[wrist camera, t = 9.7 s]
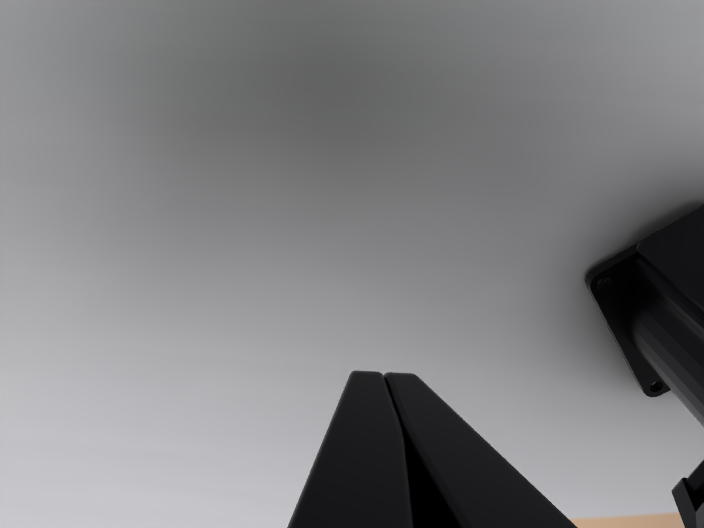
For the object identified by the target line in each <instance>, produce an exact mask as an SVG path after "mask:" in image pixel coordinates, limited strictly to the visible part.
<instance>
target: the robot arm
mask: <svg viewBox="0 0 704 528" xmlns="http://www.w3.org/2000/svg"><path fill="white" fill-rule="evenodd" d="M605 277H606V280H605V281H604V282H603V283H602V284H600V285H597V283H598V281H599V280H600V279H602V278H605ZM585 283H586V286H587V288H588V290H589V292H590V294H591V296H592V298H593V300H594V301H595V303H596V305H597V307H598V309H599V311H600V313H601V315H602V317H603V319H604V321H605V322H606V324H607V326H608V328H609V330H610V332H611V334H612V336H613V338H614V340H615V341H616V343H617V345H618V347H619V349H620V351H621V353H622V355H623V357H624V359H625V360H626V362H627V364H628V366H629V368H630V370H631V372H632V374H633V376H634V378H635V379H636V381H637V383H638V385H639V387H640V388H641V389H642V391H643V392H644V393H645V394H646V395H647V396H649V397H657V396H660V395H662V394H664V393H666V392H668V391H670V390H672V391H673V392H674V393H675V395H676V396H677V397H678V398H679V399H680V400H681V401H682V403H683V404H684V405H685V406H686V407H687V408H688V410H689V411H690V412H691V413H692V414H693V415H694V416H695V418H696V419H697V420H698V421H699V422H700V423H701V424H702V426H703V427H704V206H702V207H700V208H698V209H697V210H695V211H693V212H691V213H690V214H688V215H686V216H684V217H682V218H681V219H679V220H677V221H675V222H674V223H672V224H670V225H668V226H667V227H665V228H663V229H661V230H659V231H658V232H656V233H654V234H652V235H651V236H649V237H647V238H645V239H643V240H642V241H641V242H639V243H637V244H636V245H634V246H632V247H630V248H629V249H627V250H625V251H623V252H621V253H620V254H618V255H616V256H614V257H613V258H611V259H609V260H607V261H606V262H604V263H602V264H600V265H598V266H597V267H595V268H593V269H592V270H591V271H590V272H589V273H588V274H587V276H586V280H585ZM654 382H656V383H655V384H653V383H654ZM651 384H653V385H651ZM672 494H673V497H674V499H675V502H676V505H677V507H678V510H679V513H680V515H681V518H682V521H683V523H684V526H685V528H704V460H703V461H702V462H701V463H700V464H699V465H698V466H697V468H696V469H695V470H694V471H693V472H692V473H691V474H690V476H689V477H688V478H682V479H681V480H680V482H679V483H678V484H677V485H676V486H675V487H674V488H673V490H672ZM287 528H577V527H576V526H575V525H574V524H573V523H572V522H571V521H570V520H569V519H568V518H567V517H566V516H565V515H564V514H563V513H562V512H560V511H559V510H558V509H557V508H556V507H555V506H554V505H553V504H552V503H551V502H550V501H549V500H548V499H547V498H546V497H545V496H544V495H543V494H541V493H540V492H539V491H538V490H537V489H536V488H535V487H534V486H533V485H532V484H531V483H530V482H529V481H528V480H527V479H526V478H525V477H524V476H522V475H521V474H520V473H519V472H518V471H517V470H516V469H515V468H514V467H513V466H512V465H511V464H510V463H509V462H508V461H507V460H506V459H504V458H503V457H502V456H501V455H500V454H499V453H498V452H497V451H496V450H495V449H494V448H493V447H492V446H491V445H490V444H489V443H488V442H487V441H485V440H484V439H483V438H482V437H481V436H480V435H479V434H478V433H477V432H476V431H475V430H474V429H473V428H472V427H471V426H470V425H469V424H468V423H466V422H465V421H464V420H463V419H462V418H461V417H460V416H459V415H458V414H457V413H456V412H455V411H454V410H453V409H452V408H451V407H450V406H448V405H447V404H446V403H445V402H444V401H443V400H442V399H441V398H440V397H439V396H438V395H437V394H436V393H435V392H434V391H433V390H432V389H431V388H429V387H428V386H427V385H426V384H425V383H424V382H423V381H422V380H421V379H420V378H419V377H418V376H416V375H415V374H412V373H392V372H388V373H386V374H385V375H384V376H383V374H382V373H380V372H372V371H353V372H352V373H351V374H350V376H349V378H348V381H347V383H346V386H345V388H344V391H343V393H342V395H341V398H340V400H339V403H338V405H337V408H336V410H335V413H334V415H333V417H332V420H331V422H330V425H329V427H328V430H327V432H326V435H325V437H324V439H323V442H322V444H321V447H320V449H319V452H318V454H317V457H316V459H315V461H314V464H313V466H312V469H311V471H310V474H309V476H308V478H307V481H306V483H305V486H304V488H303V491H302V493H301V496H300V498H299V500H298V503H297V505H296V508H295V510H294V513H293V515H292V518H291V520H290V522H289V525H288V527H287Z"/></svg>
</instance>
